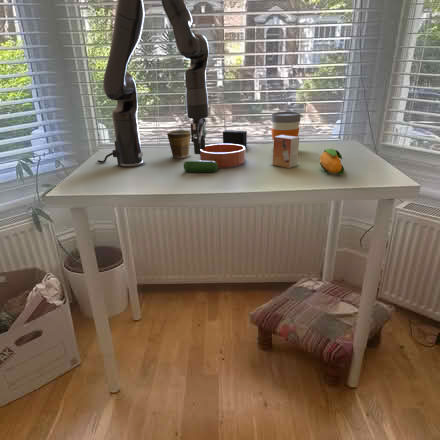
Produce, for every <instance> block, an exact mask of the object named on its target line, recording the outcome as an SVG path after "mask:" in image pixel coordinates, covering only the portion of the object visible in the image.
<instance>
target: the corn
mask: <svg viewBox="0 0 440 440" xmlns="http://www.w3.org/2000/svg"><path fill="white" fill-rule="evenodd" d="M341 160H343V156H342V154H341V153H340V151H338V150H337V149H334V148H326V149H324V150H323V152H322V153H321V155H320V158H319V165H320V166H321V169H322V170H324V172H325V173H327V174H330V173H331V174H338V175H339V176H342V175H344V173H345V167H344V165H343V163H342V162H341Z"/></svg>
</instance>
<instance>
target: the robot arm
mask: <svg viewBox="0 0 440 440" xmlns="http://www.w3.org/2000/svg"><path fill="white" fill-rule="evenodd" d="M160 3H161V6H162V9H163V11H164V13H165V17H166V18H167V20H168V22H169V24H170V26H171V28H172V32H173V33H172V34H173V38H174V41H175V45H176V49H177V50H178V52H179V54H180V55H181V56H182V58H184V59H185V60H190V61H189V62H190V63H189V67H188V68H187V69H185V72H184V82H185V83H184V84H185V107H186V117H187V118H188V119H191V120H192V123H190V131H191V138H190V142H191V143H193V153H194V155H200V153H201V149H205V146H206V136H207V124H206V120H207V119H206V118H209V98H208V97H209V95H208V90H207V89H208V88H207V75H206V72H207V68H208V62H209V61H208V59H209V49H210V48H209V44H208V40H207V38H206V37H205V36H204V35H203V34H201V33H193V31H192V30H191V25H192V23H193V17H192V14H191V12H190V10H189V8H188V6H187V4H186V1H185V0H160ZM116 4H117V5H116V10H115V14H114V15H115V16H114V23H113V31H112V38H111V42H110V49H109V55H108V59H107V62H106V67H105V71H104V75H103V81H102V86H103V92H104V94H105V96H106V98H108V99H109V100H111V101H116V105H115V108H114V109H113V110H112V112H111V116H112V117H111V119H112V124H113V128H114V136H115V140H114V148H115V149H112V150H111V153H108V154H106V155H105V157H104V159H103V160H101V159H100V160H99V159H97V163H100V164H105V163H106V162H107V159H108V158H109V157H111V156H112V157H113V158H116V160H117V166H118V167H122V168H133V167H139V166H142V165H143V164H144V161H143V160H144V159H143V156H144V153H143V151H142V146H141V139H140V138H141V137H140V130H139V124H138V108H139V105H138V93H137V91H138V90H137V86H136V81H135V79H134V77H133V75H132V74H131V73H130V72H129V71H127V67H128V64H129V61H130V59H131V56H132V55H133V53H134V51H135V50H136V48H137V46H138V44H139V42H140V40H141V37H142V33H143V27H144V22H145V15H146V13H145V3H144V0H117V3H116Z"/></svg>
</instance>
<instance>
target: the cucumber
mask: <svg viewBox="0 0 440 440" xmlns="http://www.w3.org/2000/svg"><path fill="white" fill-rule="evenodd" d="M182 168H183V170H184V171H185V172H187V173H214V172H216V171H218V169H219V168H218V165H217V163H216V162H215V161H200V160H185V162H184V163H183V166H182Z"/></svg>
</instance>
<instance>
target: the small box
mask: <svg viewBox="0 0 440 440" xmlns="http://www.w3.org/2000/svg"><path fill="white" fill-rule="evenodd" d="M272 147H273V149H272V166H276V167H277V166H278V167H281V168H286V169H291V168H293V167H296V166H298V158H299V147H300V136H298V137H295V136H286V135H279V136H275V137H274V143H273V146H272Z"/></svg>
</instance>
